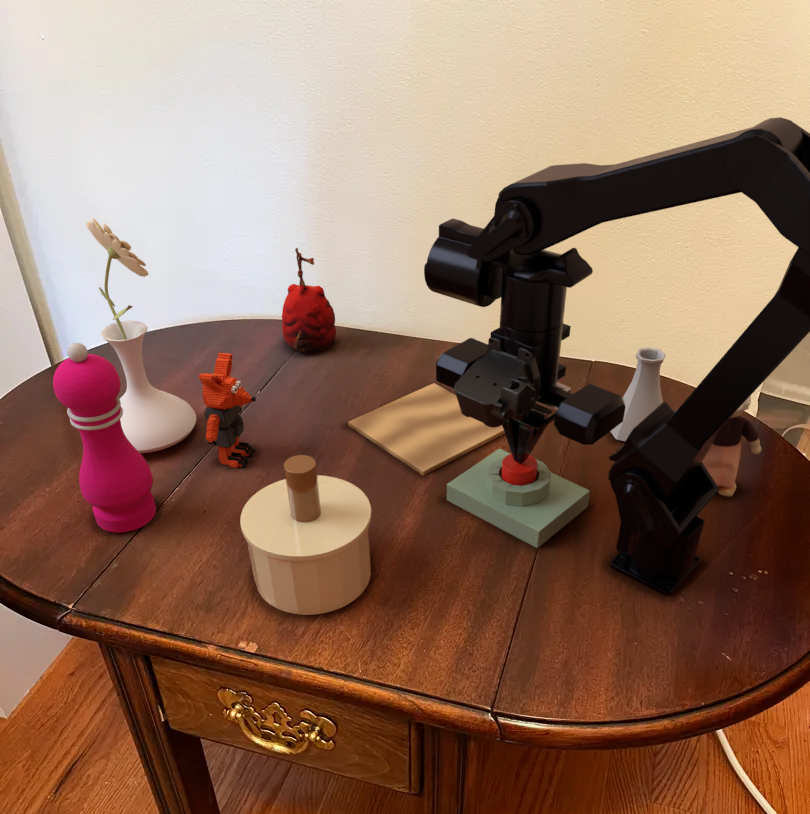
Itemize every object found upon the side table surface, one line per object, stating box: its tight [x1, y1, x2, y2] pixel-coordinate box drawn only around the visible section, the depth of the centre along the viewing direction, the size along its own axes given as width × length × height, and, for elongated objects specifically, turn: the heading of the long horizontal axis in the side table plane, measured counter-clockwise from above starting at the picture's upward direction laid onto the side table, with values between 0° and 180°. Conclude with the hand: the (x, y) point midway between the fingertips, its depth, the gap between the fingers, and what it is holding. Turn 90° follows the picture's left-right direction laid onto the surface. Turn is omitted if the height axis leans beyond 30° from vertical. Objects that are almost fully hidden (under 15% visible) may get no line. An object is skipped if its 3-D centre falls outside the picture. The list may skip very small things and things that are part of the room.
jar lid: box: [239, 454, 373, 561], centre depth 75 cm, size 12×12×7 cm
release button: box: [501, 453, 537, 486], centre depth 87 cm, size 4×4×2 cm
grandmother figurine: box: [702, 394, 763, 497], centre depth 87 cm, size 8×4×13 cm, turn 92°
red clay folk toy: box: [281, 247, 337, 354], centre depth 114 cm, size 8×7×15 cm
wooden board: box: [347, 382, 505, 476], centre depth 101 cm, size 14×14×1 cm
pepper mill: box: [52, 342, 157, 534], centre depth 83 cm, size 7×7×20 cm
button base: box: [446, 448, 591, 549], centre depth 88 cm, size 12×9×4 cm
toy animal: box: [198, 352, 257, 469], centre depth 93 cm, size 8×6×12 cm
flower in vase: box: [85, 217, 197, 454], centre depth 94 cm, size 13×11×25 cm
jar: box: [246, 526, 372, 616], centre depth 79 cm, size 11×11×7 cm
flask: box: [609, 346, 666, 442], centre depth 97 cm, size 7×7×10 cm
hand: (520, 460), depth 86 cm, fingers closed
